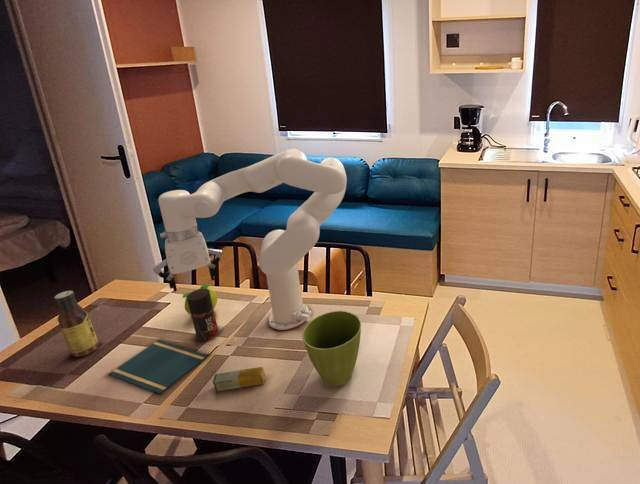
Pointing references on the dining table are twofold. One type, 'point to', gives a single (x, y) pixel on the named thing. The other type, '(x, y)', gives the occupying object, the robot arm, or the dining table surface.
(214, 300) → the fruit
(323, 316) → the flower pot
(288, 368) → the dining table surface
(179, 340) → the dining table surface
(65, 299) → the sauce bottle
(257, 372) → the medication box
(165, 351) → the cloth
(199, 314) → the deodorant
